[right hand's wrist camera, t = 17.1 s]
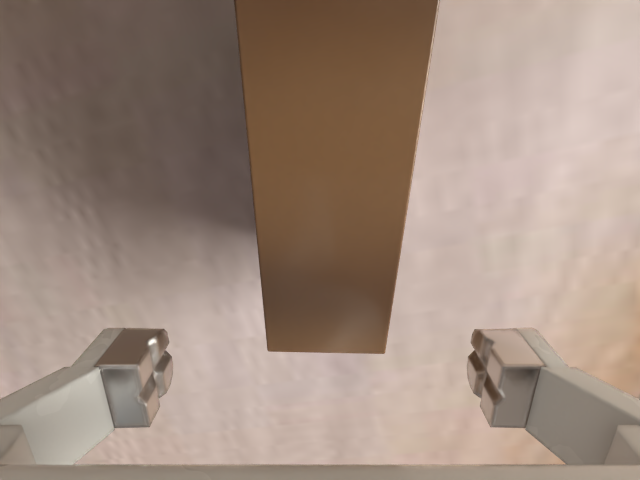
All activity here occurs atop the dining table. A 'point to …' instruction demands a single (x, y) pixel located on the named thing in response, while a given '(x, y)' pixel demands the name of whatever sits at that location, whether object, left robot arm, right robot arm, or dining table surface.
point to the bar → (332, 160)
